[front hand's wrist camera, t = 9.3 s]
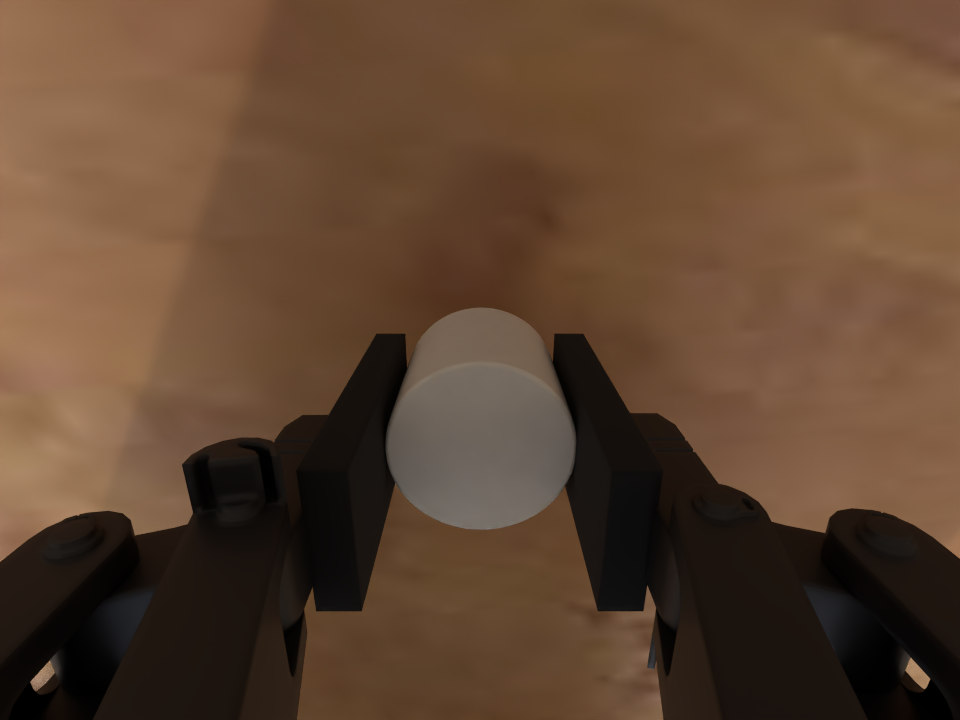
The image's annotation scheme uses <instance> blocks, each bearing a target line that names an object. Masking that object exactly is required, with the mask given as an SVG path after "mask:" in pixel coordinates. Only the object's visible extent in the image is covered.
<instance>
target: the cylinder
mask: <svg viewBox="0 0 960 720" xmlns="http://www.w3.org/2000/svg"><path fill="white" fill-rule="evenodd" d="M385 452H386V459H387V463H388V467H389V470H390V473H391V475H392V477H393V479H394V481H395V483H396V485H397V486H398V488H399V489H400V491H401V492H402V493H403V495H404V496H405V497H406V498H407V499H408V500H409V501H410V502H411V503H412V504H413V505H414V506H415V507H416V508H418V509H419V510H420V511H422V512H423V513H425V514H426V515H428V516H430V517H432V518H433V519H435V520H438V521H440V522H443V523H445V524H448V525H451V526H455V527H459V528H465V529H475V530H487V529H497V528H503V527H507V526H511V525H515V524H517V523H520V522H522V521H525V520H527V519H529V518H531V517H533V516H534V515H536V514H538V513H539V512H540V511H542V510H543V509H545V508H546V507H547V506H548V505H549V504H550V503H552V502H553V501H554V500H555V498H556V497H557V496H558V495H559V494H560V493H561V491H562V490H563V488H564V487H565V485H566V484H567V482H568V480H569V477H570V475H571V473H572V471H573V468H574V463H575V453H576V429H575V425H574V422H573V419H572V416H571V413H570V410H569V407H568V404H567V401H566V399H565V396H564V393H563V390H562V387H561V384H560V382H559V379H558V376H557V373H556V370H555V367H554V364H553V362H552V359H551V356H550V353H549V351H548V349H547V346H546V344H545V343H544V341H543V340H542V338H541V336H540V335H539V334H538V333H537V332H536V331H535V329H534V328H532V327H531V326H530V325H529V324H528V323H527V322H525V321H524V320H522V319H520V318H519V317H517V316H515V315H513V314H511V313H508V312H505V311H502V310H498V309H493V308H470V309H464V310H460V311H457V312H454V313H451V314H449V315H447V316H445V317H443V318H442V319H440V320H439V321H437V322H435V323H434V324H433V325H432V326H431V327H430V328H429V329H428V330H427V331H426V332H425V333H424V334H423V335H422V337H421V338H420V340H419V341H418V343H417V345H416V347H415V349H414V351H413V353H412V356H411V359H410V362H409V365H408V368H407V371H406V373H405V376H404V379H403V382H402V385H401V388H400V391H399V394H398V396H397V399H396V402H395V405H394V408H393V411H392V414H391V416H390V420H389V423H388V426H387V430H386V437H385Z"/></svg>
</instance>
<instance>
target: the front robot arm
mask: <svg viewBox="0 0 960 720" xmlns="http://www.w3.org/2000/svg"><path fill="white" fill-rule="evenodd" d="M553 364H554V367H555V370H556V373H557V376H558V379H559V382H560V384H561V387H562V390H563V393H564V396H565V399H566V401H567V404H568V407H569V410H570V413H571V416H572V419H573V422H574V425H575V429H576V453H575V463H574V468H573V471H572V473H571V475H570V477H569V480H568V482H567V484H566V485H565V487H566V490H567V494H568V498H569V502H570V506H571V510H572V513H573V517H574V521H575V525H576V529H577V533H578V536H579V540H580V544H581V548H582V552H583V556H584V560H585V563H586V567H587V571H588V575H589V579H590V583H591V586H592V590H593V594H594V598H595V602H596V606H597V609H598V611H643V610H644V603H645V596H646V589H647V585H648V588H649V590H650V593H651V595H652V598H653V600H654V603H655V605H656V613H655V620H654V626H653V633H652V639H651V646H650V652H649V659H648V667H647V668H652V669H655V663H656V662H657V670H658V678H659V687H660V695H661V703H662V711H663V719H664V720H960V559H959V558H958V557H957V556H955V555H954V554H953V553H952V552H950V551H949V550H948V549H947V548H945V547H944V546H943V545H942V544H940V543H939V542H938V541H937V540H935V539H934V538H933V537H931V536H930V535H928V534H927V533H925V532H924V531H922V530H921V529H919V528H917V527H916V526H914V525H912V524H910V523H908V522H905V521H903V520H901V519H898V518H897V517H895V516H893V515H890V514H887V513H881V512H879V511H874V510H864V509H853V508H851V509H846V510H840V511H837V512H836V513H835V514H833V515H832V516H831V517H830V518H829V522H828V525H827V529H826V533H821V532H816V531H811V530H806V529H801V528H796V527H791V526H786V525H782V524H778V523H774V522H771V520H770V518H769V516H768V514H767V512H766V511H765V510H764V508H763V507H762V506H761V505H760V503H759V502H758V501H756V500H755V499H753V498H752V497H750V496H749V495H747V494H746V493H744V492H742V491H739V490H737V489H734V488H732V487H729V486H726V485H721V484H718V483H717V481H716V480H715V479H714V477H713V476H712V474H711V473H710V472H709V470H708V469H707V468H706V466H705V465H704V464H703V462H702V461H701V459H700V458H699V457H698V455H697V454H696V453H695V452H693V449H692V447H691V446H690V444H689V443H688V442H687V441H685V438H684V436H683V435H682V433H681V432H680V431H679V429H678V428H677V427H676V425H675V424H673V423H672V422H670V421H668V420H667V419H665V418H664V417H662V416H660V415H659V414H657V413H629V411H628V409H627V408H626V406H625V404H624V402H623V401H622V399H621V397H620V396H619V394H618V392H617V391H616V389H615V387H614V385H613V384H612V382H611V380H610V379H609V377H608V375H607V374H606V372H605V370H604V368H603V367H602V365H601V363H600V362H599V360H598V358H597V357H596V355H595V353H594V351H593V350H592V348H591V346H590V345H589V343H588V341H587V340H586V338H585V336H584V334H554V353H553ZM406 371H407V358H406V339H405V334H376V336H375V337H374V339H373V341H372V342H371V344H370V346H369V348H368V349H367V351H366V353H365V354H364V356H363V358H362V359H361V361H360V363H359V365H358V366H357V368H356V370H355V371H354V373H353V375H352V376H351V378H350V380H349V381H348V383H347V385H346V387H345V388H344V390H343V392H342V393H341V395H340V397H339V398H338V400H337V402H336V404H335V405H334V407H333V409H332V410H331V412H330V414H329V415H302V416H301V417H299V418H298V419H296V420H294V421H293V422H291V423H290V424H288V425H287V426H285V427H284V428H283V430H282V431H281V433H280V434H279V435H278V437H277V438H276V439H275V443H273V442H272V441H270V440H266V439H262V438H237V439H231V440H225V441H222V442H219V443H216V444H213V445H210V446H207V447H205V448H203V449H201V450H200V451H198V452H196V453H194V454H192V455H191V456H190V457H189V458H188V459H187V460H186V461H185V462H184V463H183V464H182V467H183V471H184V475H185V480H186V484H187V488H188V493H189V497H190V501H191V505H192V510H193V515H192V517H191V519H190V521H189V523H188V524H187V525H183V526H179V527H176V528H171V529H166V530H161V531H156V532H151V533H146V534H141V535H136V536H135V534H134V531H133V527H132V524H131V520H130V519H129V518H127V517H126V516H125V515H124V514H123V513H117V512H111V511H102V512H90V513H84V514H80V515H79V516H77V515H76V516H72V517H69V518H66V519H64V520H63V521H61V522H59V523H56V524H54V525H52V526H49V527H47V528H45V529H44V530H42V531H41V532H39V533H38V534H36V535H35V536H33V537H32V538H30V539H28V540H27V541H26V542H25V543H23V544H22V545H21V546H20V547H18V548H17V549H16V550H15V551H14V552H12V553H11V554H10V555H9V556H7V557H6V558H5V559H4V560H2V561H1V562H0V720H297V712H298V704H299V696H300V688H301V680H302V672H303V663H304V655H305V647H306V639H307V627H306V620H305V613H304V607H305V605H306V602H307V599H308V597H309V594H310V592H311V589H312V587H313V592H314V599H315V606H316V611H362V608H363V604H364V600H365V597H366V593H367V589H368V585H369V581H370V577H371V574H372V570H373V566H374V562H375V558H376V554H377V551H378V547H379V543H380V539H381V535H382V531H383V528H384V524H385V520H386V516H387V512H388V508H389V505H390V501H391V497H392V493H393V489H394V485H395V481H394V479H393V477H392V475H391V473H390V470H389V467H388V463H387V459H386V452H385V437H386V430H387V426H388V423H389V420H390V416H391V414H392V411H393V408H394V405H395V402H396V399H397V396H398V394H399V391H400V388H401V385H402V382H403V379H404V376H405V373H406ZM910 657H911V658H912V659H913V660H914V661H915V662H916V663H917V665H918V666H919V667H920V668H921V669H922V670H923V671H924V672H925V673H926V674H927V676H928V677H929V678H930V681H929V684H928V686H927V688H926V689H923V688H922V687H920V686H919V685H918V684H917V683H916V682H915V681H914V680H913V679H912V678H911V677H910V676H909V674H908V673H907V672H906V671H905V670H906V667H907V665H908V662H909V660H910ZM49 660H50V661H51V664H52V666H53V669H54V671H55V674H54V675H53V676H52V677H51V678H50V679H49V681H48V682H47V683H46V684H45V685H43V686H42V687H41V688H40V689H39V690H37V691H35V690H33V688H32V685H31V683H30V681H31V680H32V679H33V678H34V677H35V676H36V675H37V674H38V673H39V671H40V670H41V669H42V668H43V667H44V666H45V665H46V664H47V663H48V661H49Z"/></svg>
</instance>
